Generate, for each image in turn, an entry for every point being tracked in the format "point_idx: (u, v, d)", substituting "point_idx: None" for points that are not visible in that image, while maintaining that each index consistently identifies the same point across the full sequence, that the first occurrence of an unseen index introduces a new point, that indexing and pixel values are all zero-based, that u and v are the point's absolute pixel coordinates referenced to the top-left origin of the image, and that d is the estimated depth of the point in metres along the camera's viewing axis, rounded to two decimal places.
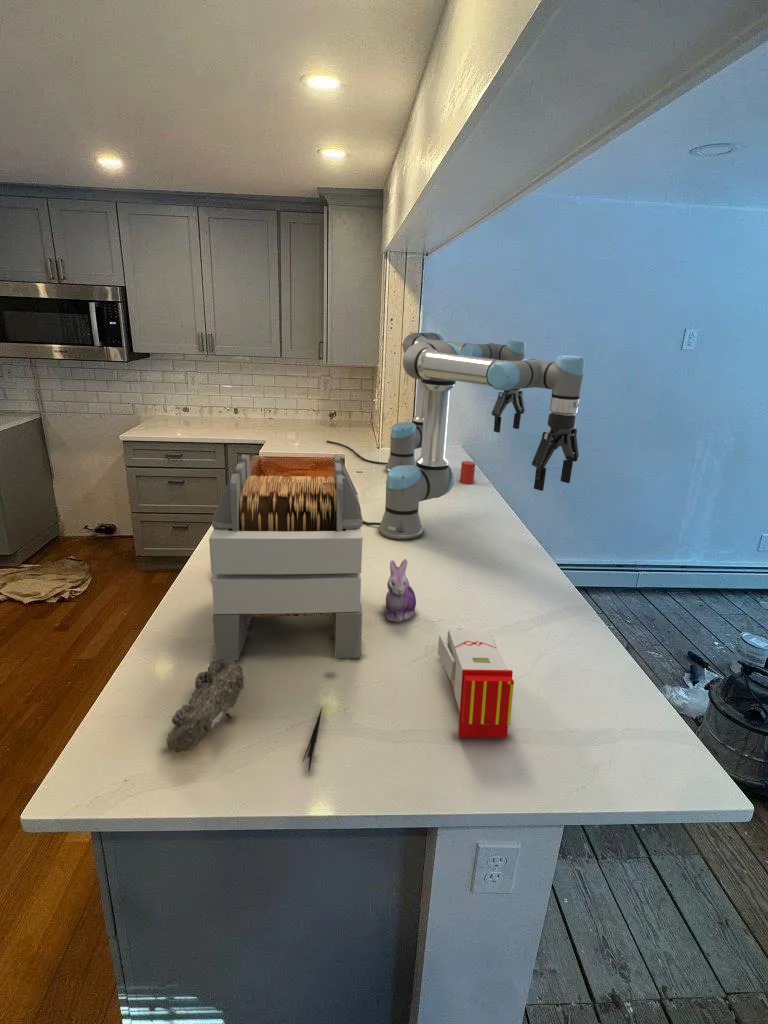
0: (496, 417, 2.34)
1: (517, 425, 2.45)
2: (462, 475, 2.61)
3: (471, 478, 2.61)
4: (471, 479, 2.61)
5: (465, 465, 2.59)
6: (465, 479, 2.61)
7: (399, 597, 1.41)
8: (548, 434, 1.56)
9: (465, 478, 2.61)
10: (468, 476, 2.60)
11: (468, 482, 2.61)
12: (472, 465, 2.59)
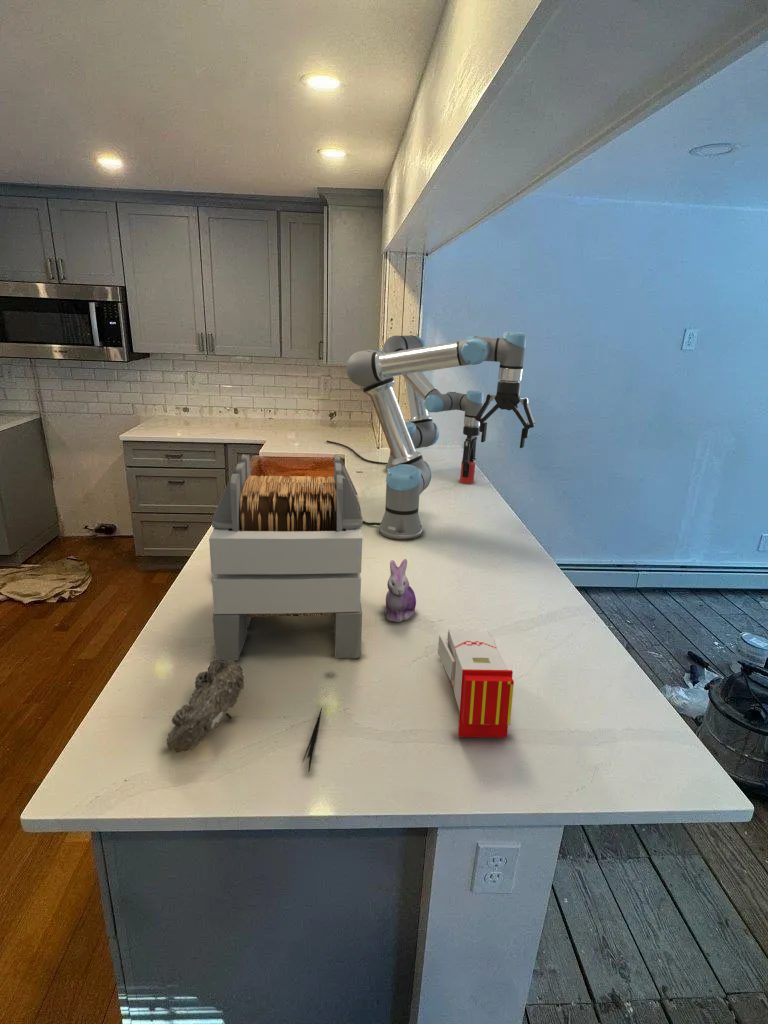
0: (466, 464, 2.57)
1: None
2: None
3: (471, 478, 2.61)
4: (471, 479, 2.61)
5: None
6: (465, 479, 2.61)
7: (399, 597, 1.41)
8: (528, 399, 1.86)
9: (465, 478, 2.61)
10: (468, 476, 2.60)
11: (468, 482, 2.61)
12: (472, 465, 2.59)
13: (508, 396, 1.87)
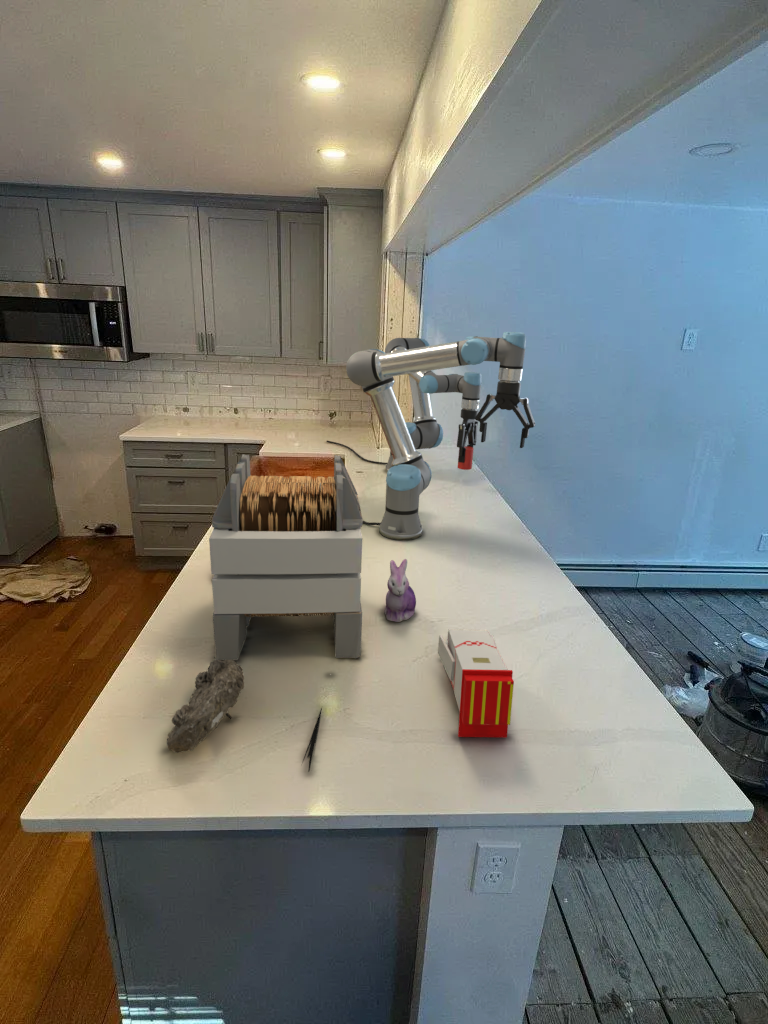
0: (461, 449, 2.47)
1: None
2: None
3: (468, 464, 2.51)
4: (468, 465, 2.51)
5: None
6: (462, 465, 2.51)
7: (399, 597, 1.41)
8: (528, 399, 1.86)
9: (462, 463, 2.51)
10: (464, 462, 2.50)
11: (464, 468, 2.51)
12: (469, 450, 2.49)
13: (508, 396, 1.87)
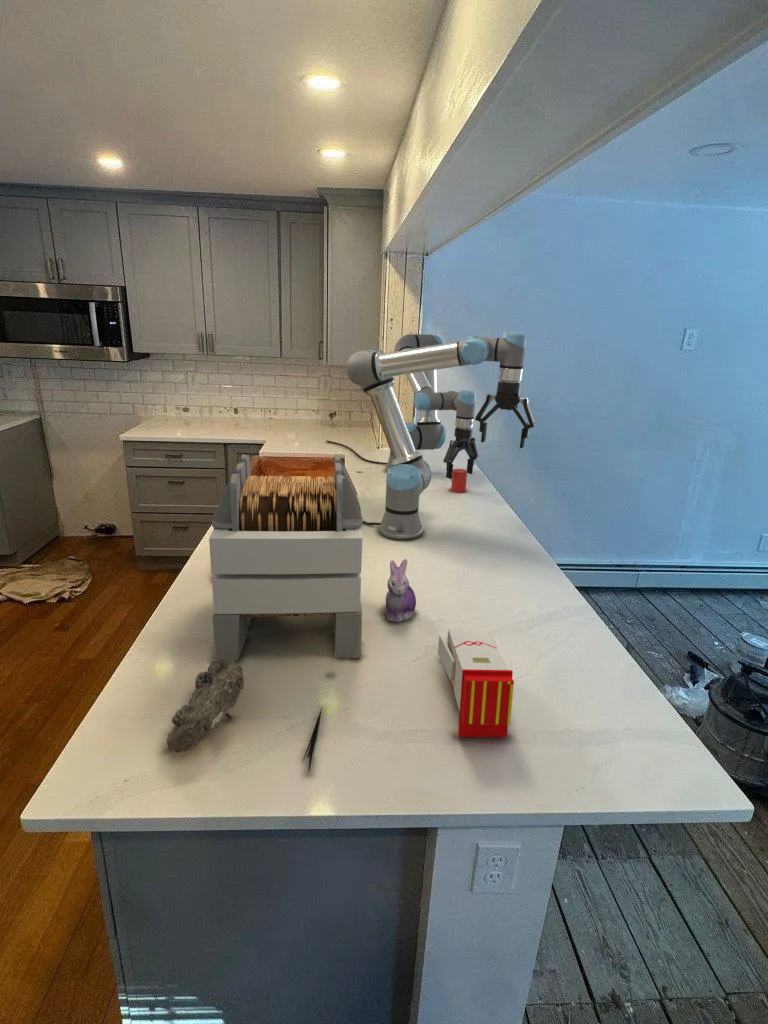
0: (448, 464, 2.41)
1: (470, 470, 2.52)
2: (452, 483, 2.49)
3: (460, 487, 2.47)
4: (460, 488, 2.47)
5: (454, 472, 2.46)
6: (454, 488, 2.48)
7: (399, 597, 1.41)
8: (528, 399, 1.86)
9: (454, 486, 2.48)
10: (456, 484, 2.47)
11: (457, 491, 2.48)
12: (461, 473, 2.45)
13: (508, 396, 1.87)
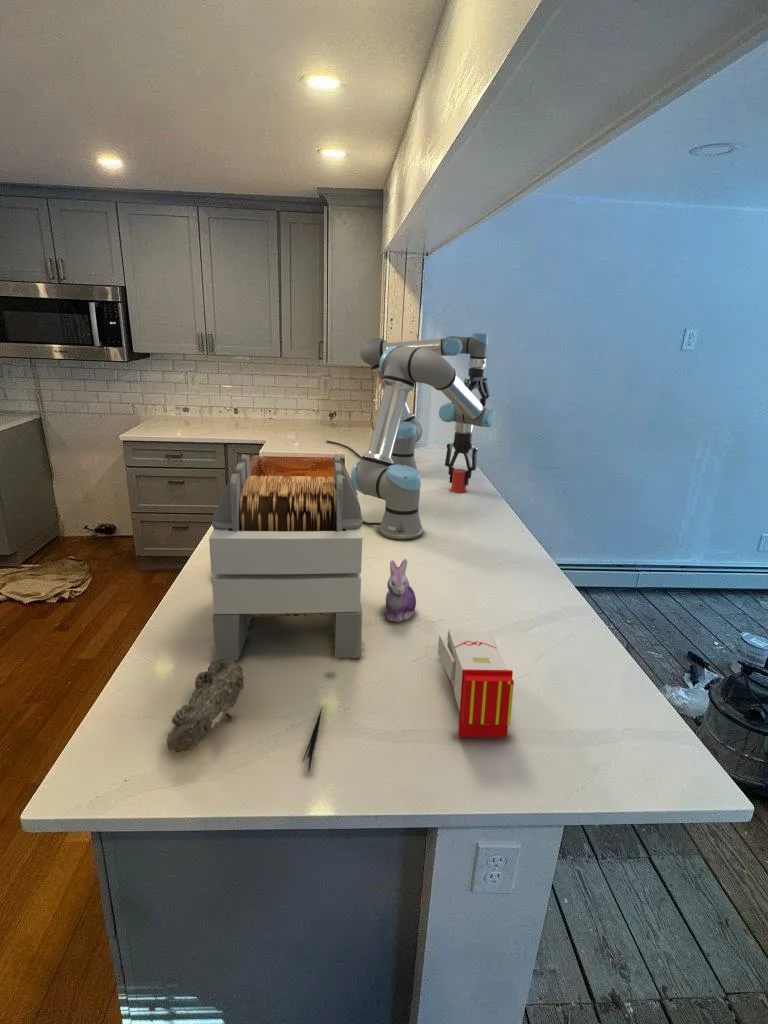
0: None
1: None
2: (452, 483, 2.49)
3: (460, 487, 2.47)
4: (460, 488, 2.47)
5: (454, 472, 2.46)
6: (454, 488, 2.48)
7: (399, 597, 1.41)
8: (477, 449, 2.42)
9: (454, 486, 2.48)
10: (456, 484, 2.47)
11: (457, 491, 2.48)
12: (461, 473, 2.45)
13: (462, 443, 2.43)
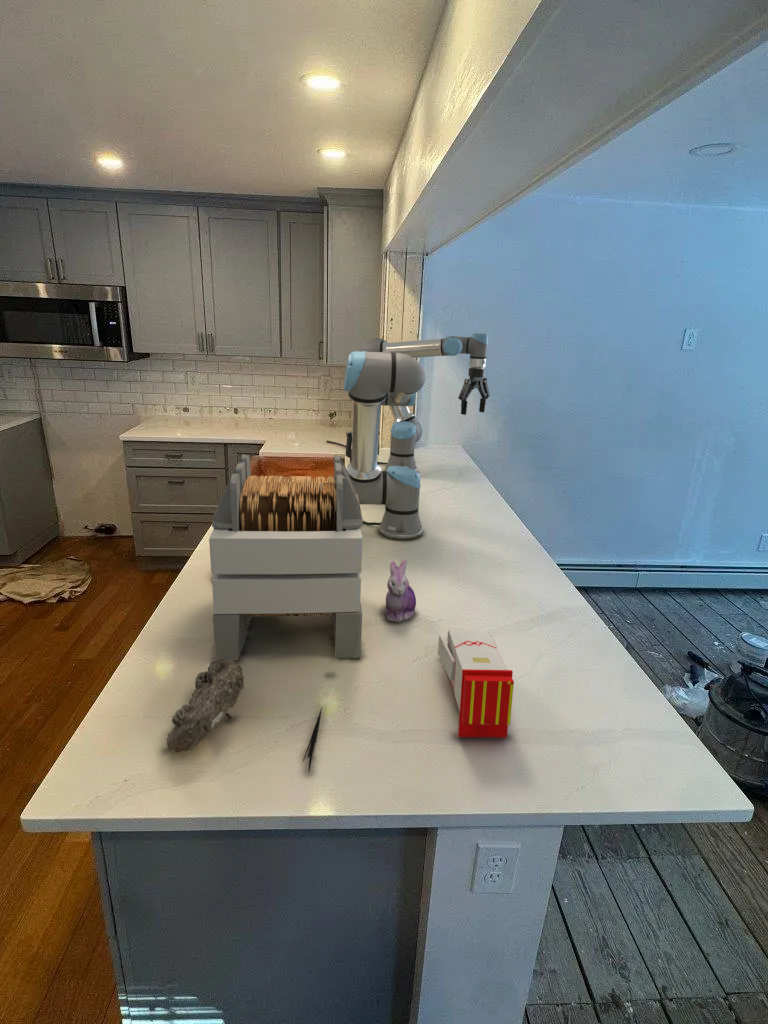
0: (462, 401, 2.64)
1: (482, 409, 2.75)
2: None
3: None
4: None
5: None
6: None
7: (399, 597, 1.41)
8: None
9: None
10: None
11: None
12: None
13: None
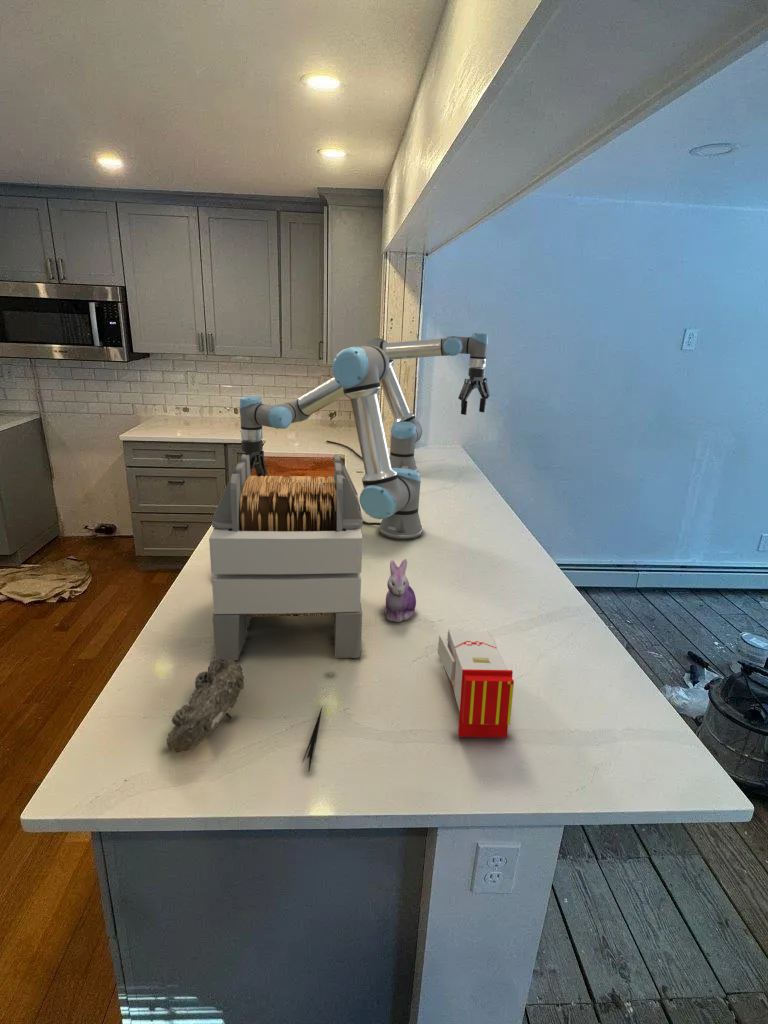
0: (462, 401, 2.64)
1: (482, 409, 2.75)
2: None
3: None
4: None
5: None
6: None
7: (399, 597, 1.41)
8: None
9: None
10: None
11: None
12: None
13: (255, 452, 2.07)
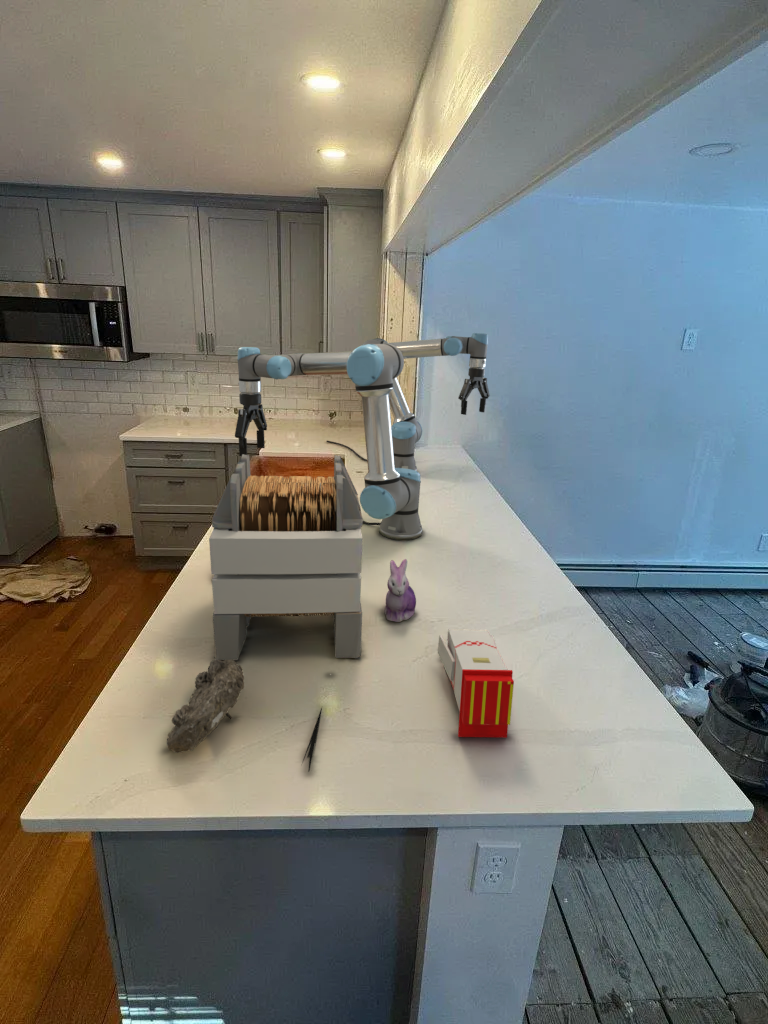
0: (462, 401, 2.64)
1: (482, 409, 2.75)
2: None
3: None
4: None
5: None
6: None
7: (399, 597, 1.41)
8: None
9: None
10: None
11: None
12: None
13: (254, 406, 2.01)
